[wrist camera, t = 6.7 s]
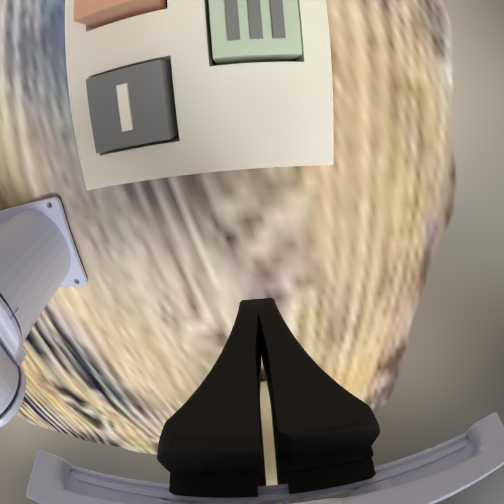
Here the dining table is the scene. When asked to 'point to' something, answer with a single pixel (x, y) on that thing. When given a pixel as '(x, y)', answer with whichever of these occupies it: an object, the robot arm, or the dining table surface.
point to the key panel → (206, 96)
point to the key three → (254, 30)
